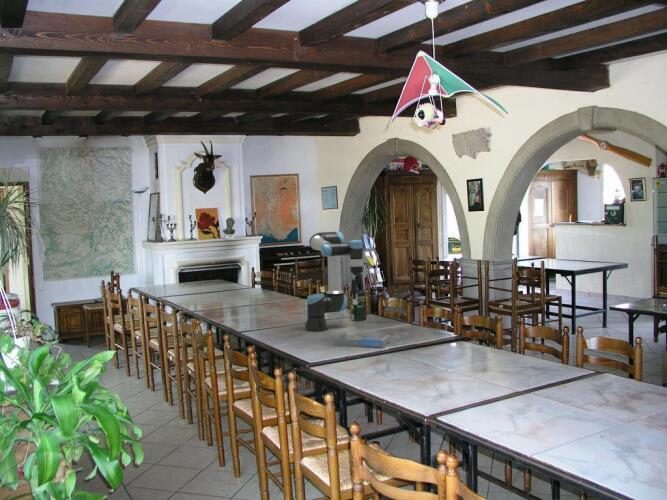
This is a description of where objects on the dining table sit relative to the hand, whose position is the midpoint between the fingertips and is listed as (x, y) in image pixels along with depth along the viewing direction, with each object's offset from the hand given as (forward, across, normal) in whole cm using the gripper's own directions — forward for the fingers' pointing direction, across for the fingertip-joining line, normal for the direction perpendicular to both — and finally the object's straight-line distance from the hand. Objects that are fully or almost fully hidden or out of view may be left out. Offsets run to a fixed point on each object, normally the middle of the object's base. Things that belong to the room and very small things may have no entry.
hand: (357, 303), depth 390 cm
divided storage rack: (+24, +2, +3) cm, 24 cm away
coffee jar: (+11, 0, 0) cm, 11 cm away
